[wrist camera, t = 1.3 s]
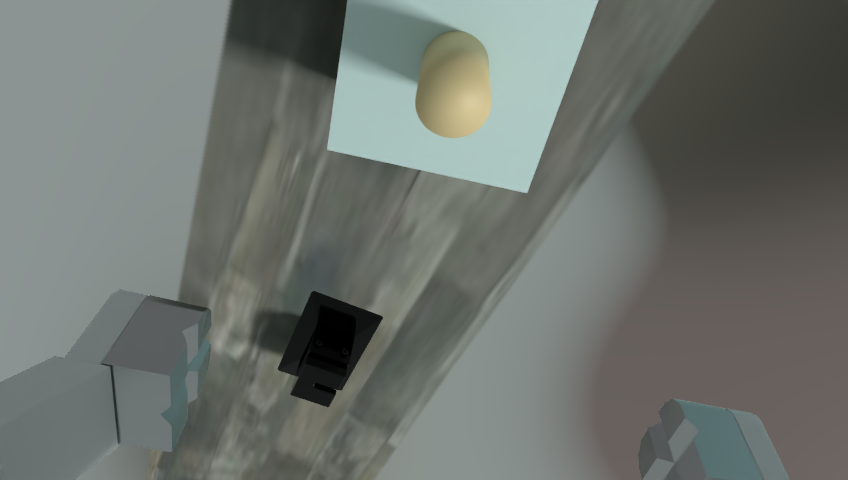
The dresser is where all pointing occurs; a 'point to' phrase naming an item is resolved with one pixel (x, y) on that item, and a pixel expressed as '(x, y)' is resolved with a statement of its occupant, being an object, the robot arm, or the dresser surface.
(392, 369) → the dresser surface
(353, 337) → the black stepped block
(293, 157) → the dresser surface
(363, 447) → the dresser surface
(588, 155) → the dresser surface
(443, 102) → the lid
